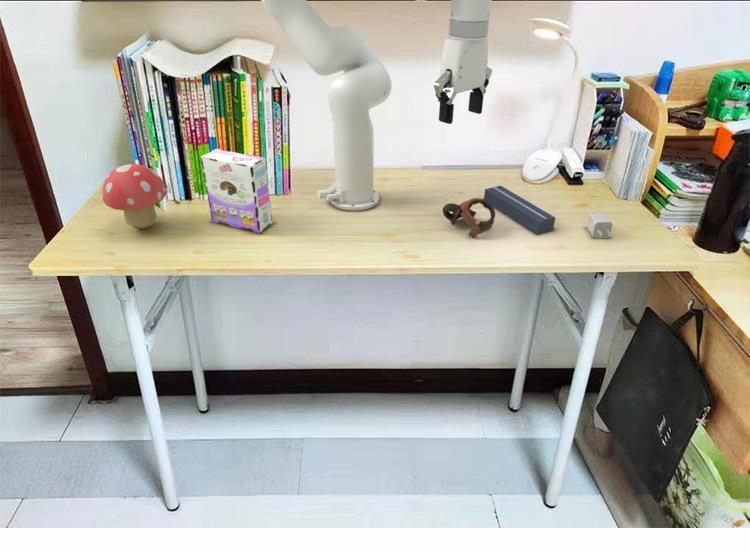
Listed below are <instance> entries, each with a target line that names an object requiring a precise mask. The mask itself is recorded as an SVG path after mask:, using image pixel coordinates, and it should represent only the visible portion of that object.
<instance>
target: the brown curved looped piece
mask: <svg viewBox="0 0 750 552" xmlns="http://www.w3.org/2000/svg"><path fill="white" fill-rule="evenodd" d="M478 204H480V205H482V206H483V208H485V209H487V210H488V211H489V214H490V217H489V218H488V219H487V220H480V221H479V223H475V222H476V218H475V216H476V214H477V211H474V210H472V209H471V208H472V207H473V206H474V205H478ZM441 211H442V214H443V216H444V218H445V219H446V220H448V221H450V223H451V225H452V226H455V223H456V221H457V220H459V219H460V218H463V220H464V221H465V222H466V223H467V225H469V227H471V229H470V231H469V232H468V236H469V237H472V238H475V237H477V236H478V235H481V234H484V233H485V232H487V231H489V230H490V229H492V226H493V225H494V223H495V218H496V210H495V207H493V206H492V205H491V204H490V203H489V202H488V201H486V200H484V198H480V197H474V198H473V197H472V198H470V199H469V200H465V201H463V202H462V203H460V204H456V203H446V204H445V205H444V206H443V207H442V209H441Z"/></svg>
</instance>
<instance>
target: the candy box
mask: <svg viewBox="0 0 750 552" xmlns="http://www.w3.org/2000/svg"><path fill="white" fill-rule="evenodd" d="M200 161H201V166H202V173H203V178H204V183H205V188H206V194H207V201H208V204H209V205H208V206H209V212H210V217H211V222H212V223H217V224H221V225H224V226H229V227H233V228H237V229H241V230H244V231H245V230H246V231H249V232H253V233H257V234H261V232H264V230H265V229H267V228H268V227H270V226H271V225H272V224H273V215H272V214H273V213H272V205H271V196H270V195H271V194H270V186H269V185H270V183H269V176H268V167H267V159H266V157H262V156H258V155H257V156H256V155H251V154H245V153H241V152H240V153H239V152H235V151H229V150H224V149H220V148H215V149H213V150H211V151H209V152H207V153H205V154H203V155H201V156H200Z"/></svg>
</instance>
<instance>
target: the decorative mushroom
mask: <svg viewBox="0 0 750 552" xmlns="http://www.w3.org/2000/svg"><path fill="white" fill-rule="evenodd" d="M167 192H168V191H167V187H166V184H165V182H164V180H163V179H162V178H161V176H160V175H159V174H158V173H157V172H156V171H154V170H153V169H152V168H150V167H147V166H145V165H142V164H133V163H132V164H131V163H129V164H124V165H121V166H119V167H117V168H115V169H114V170H112V171H111V172H110V173H109V174H108V175H107V177H105V179H104V182H103V185H102V191H101V194H102V196H101V197H102V202H103V203H104V204H105V205H106V206H107V207H109V208H111V209H113V210H118V211H123V215H124V220H125V224H127V225H129V226H130V227H132V228H134V229H139V230H145V229H147V228H149V227H150V226H152V225H153V224H154V223H155V221H156V220H157V218H158V217H157V213H156V209H155V205H158V204H159V203H160V202H161V201H163V200H164V199H165V197H166V196H167Z"/></svg>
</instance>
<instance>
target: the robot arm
mask: <svg viewBox="0 0 750 552" xmlns="http://www.w3.org/2000/svg"><path fill="white" fill-rule="evenodd" d="M260 1H261V3H262V5H263V7H264V8H265V10H266V11H267V12H268V13H269V15H270V16H271V17H272V18H273V20H274V21H275V22H276V24H278V26H279V27H280V28H281V29H282V30H283V31H284V32H285V34H286V36H287V37H288V38H289V40H290V41H291V43H292V44H293V46H294V47H295V48H296V49H297V51H298V52H299V53H300V55H301V56H302V58H303V59H304V60H305V62H306V63H307V64H308V66H309V67H310V68H311V69H312V70H313V72H315V73H316V74H317V75H319V76H324V77H325V76H331V75H335V74H337V73H340V72H343V73H341V74H339V75H338V76H337V77H335V78H334V79H333V80H332V82H331V84H330V86H329V89H328V96H327V98H328V104H329V108H330V113H331V119H332V130H333V153H334V182H331V187H328V188H327V189H321V190H317V191H316V195H317V198H318V199H326V201H328V202H330V204H331V205H332V206H334V207H335V208H338V209H341V210H344V211H352V212H353V211H354V212H355V211H364V210H365V211H366V210H368V209H371V208H373V207H375V206H376V205H377V204H378V203H379V202H380V194H379V192H377V190H375V189H374V157H375V156H374V153H375V152H374V151H375V149H374V148H375V147H374V143H375V140H374V137H375V136H374V133H375V132H374V126H373V122H372V119H371V116H370V110H371V109H373V108H375V107H377V106H379V105H380V104H382V103H384V102H385V101H386V100H388V98H389V97H390V95H391V93H392V79H391V76H390V74H389V72H388V70H387V69H386V67H385V65H384V64H383V63H382V62H381V60H380V58H379V57H378V56H377V54H376V53H375V51H374V50H373V49H372V48H371V46H370V44H369V43H368V42H367V40H366V39H365V38H364V37H363V35H362V34H361V33H360V32H359V31H358V30H356V29H355V28H353V27H352V26H347V25H338V26H333V27H331V26H329V25H328V24H327V22H326V21H324V19H323V18H322V16H321V15H320V14H319V12H318V10H317V8H315V7H314V6H313V5H312V4H311V3H310V2H308V0H260ZM417 1H418V2H424V1H426V0H416V2H417ZM491 8H492V0H450V10H449V11H450V13H449V14H450V15H449V26H448V36H447V37H446V38H445V42H444V45H443V49H442V55H441V62H440V67H439V78H438V79H436V80H435V81H434V83H433V88H434V91H435V96H436V98H437V102H438V103H439V111H438V121H439V122H441V123H443V124H447V125H452V124H453V121H454V111H455V110H454V109H455V104H454V103H453V101H454V100H455V98H456V96H457V94H460V93H464V92H468V91H470V92H469V98H468V109H467V110H468V112H470V113H474V114H477V115H480V114H482V112H483V105H484V97H485V94H486V93H487V87H488V85H489V83H490V78H491V76H492V74H493V69H492V68H491V67H489V66H488V60H489V59H488V58H489V40H488V39H489V37H488V36H489V27H490V17H491ZM448 93H449V95H448Z"/></svg>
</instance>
